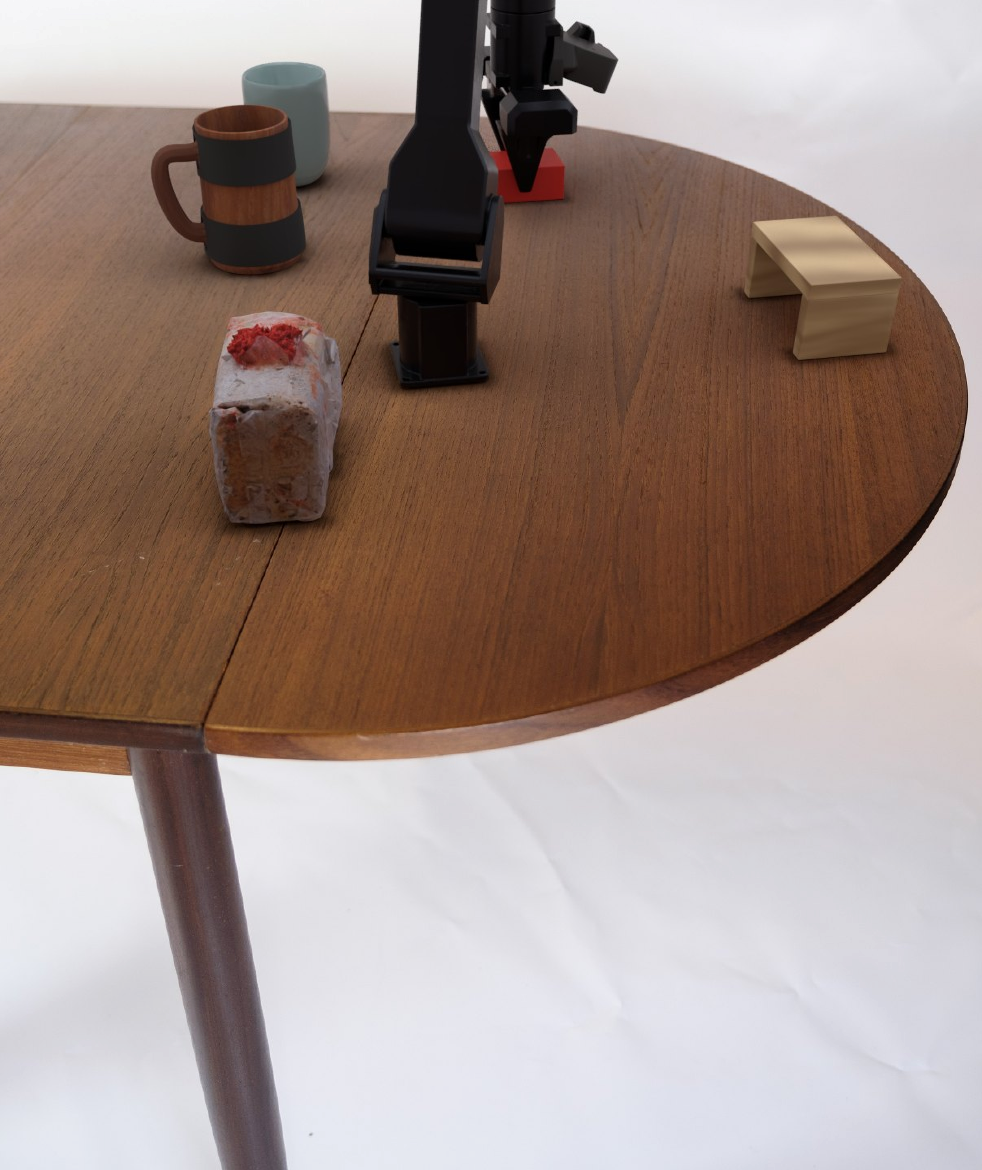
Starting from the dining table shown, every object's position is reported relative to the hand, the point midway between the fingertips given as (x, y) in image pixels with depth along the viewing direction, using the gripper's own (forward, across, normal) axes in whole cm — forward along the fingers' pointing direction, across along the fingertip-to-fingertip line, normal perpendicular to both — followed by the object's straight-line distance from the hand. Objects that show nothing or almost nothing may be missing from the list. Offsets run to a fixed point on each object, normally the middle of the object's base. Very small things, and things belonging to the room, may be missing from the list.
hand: (519, 182), depth 121 cm
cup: (+1, +7, +21) cm, 22 cm away
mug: (+1, -11, +27) cm, 29 cm away
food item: (+1, -45, +25) cm, 51 cm away
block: (+1, 0, 0) cm, 1 cm away
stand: (+1, -31, -17) cm, 35 cm away
